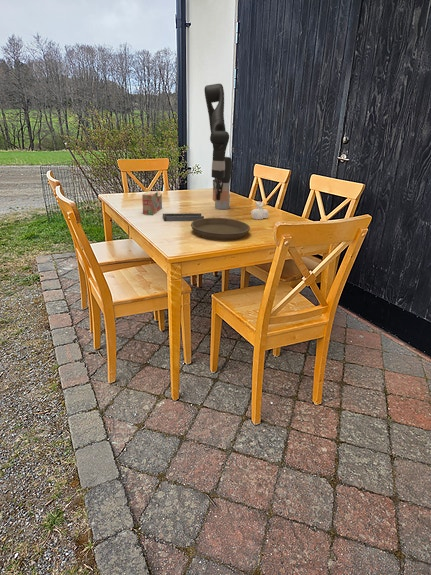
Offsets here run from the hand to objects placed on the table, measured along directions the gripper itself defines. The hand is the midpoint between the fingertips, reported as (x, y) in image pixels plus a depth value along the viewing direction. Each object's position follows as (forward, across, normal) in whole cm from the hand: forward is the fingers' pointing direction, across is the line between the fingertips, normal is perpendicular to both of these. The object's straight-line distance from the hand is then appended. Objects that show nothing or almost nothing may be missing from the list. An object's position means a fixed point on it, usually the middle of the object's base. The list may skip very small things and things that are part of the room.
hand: (217, 198), depth 216 cm
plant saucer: (+12, +30, -6) cm, 33 cm away
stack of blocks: (+12, -22, -36) cm, 44 cm away
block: (+1, 0, +2) cm, 2 cm away
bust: (+12, 0, +27) cm, 30 cm away
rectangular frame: (+12, 0, -20) cm, 23 cm away
